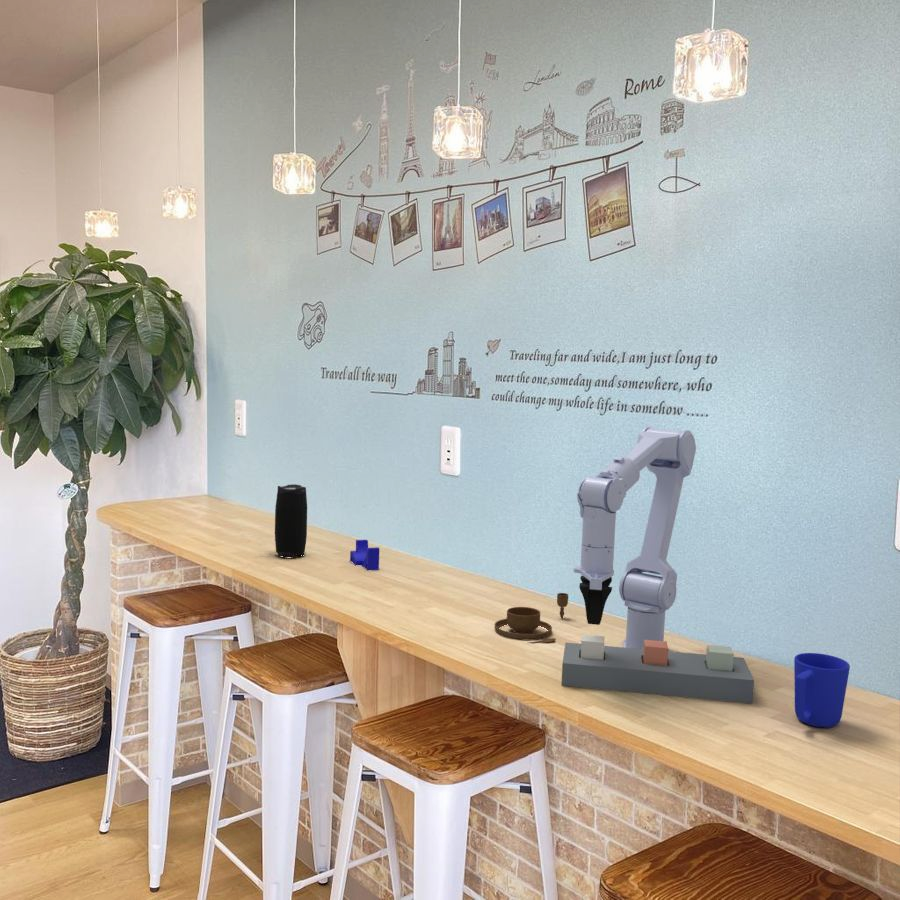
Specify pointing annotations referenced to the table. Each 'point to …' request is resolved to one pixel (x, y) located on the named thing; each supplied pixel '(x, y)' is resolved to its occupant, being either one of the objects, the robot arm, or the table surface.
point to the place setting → (529, 622)
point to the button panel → (657, 674)
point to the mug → (820, 688)
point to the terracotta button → (655, 652)
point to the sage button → (719, 658)
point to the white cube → (592, 647)
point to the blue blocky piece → (365, 555)
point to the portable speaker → (291, 520)
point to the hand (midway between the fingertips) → (593, 619)
